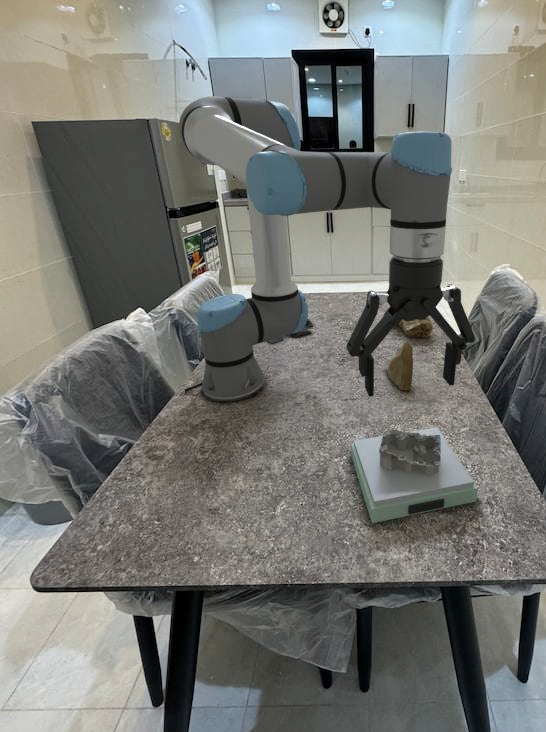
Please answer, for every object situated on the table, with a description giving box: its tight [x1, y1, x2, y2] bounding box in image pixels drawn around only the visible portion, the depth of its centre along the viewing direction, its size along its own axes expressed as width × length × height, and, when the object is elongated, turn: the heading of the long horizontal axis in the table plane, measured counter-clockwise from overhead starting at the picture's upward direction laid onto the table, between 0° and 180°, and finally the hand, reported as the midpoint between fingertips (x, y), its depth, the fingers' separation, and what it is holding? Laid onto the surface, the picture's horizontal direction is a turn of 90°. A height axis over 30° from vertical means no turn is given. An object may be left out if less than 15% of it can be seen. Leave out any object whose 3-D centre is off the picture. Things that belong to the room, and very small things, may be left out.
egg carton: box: [379, 429, 441, 476], centre depth 67 cm, size 11×8×4 cm
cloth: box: [267, 318, 314, 345], centre depth 132 cm, size 22×19×6 cm
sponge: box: [394, 314, 434, 339], centre depth 132 cm, size 13×8×20 cm
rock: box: [386, 341, 414, 391], centre depth 99 cm, size 11×9×10 cm
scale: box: [350, 426, 479, 524], centre depth 68 cm, size 18×16×4 cm
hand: (409, 386), depth 62 cm, fingers open, 13 cm apart
